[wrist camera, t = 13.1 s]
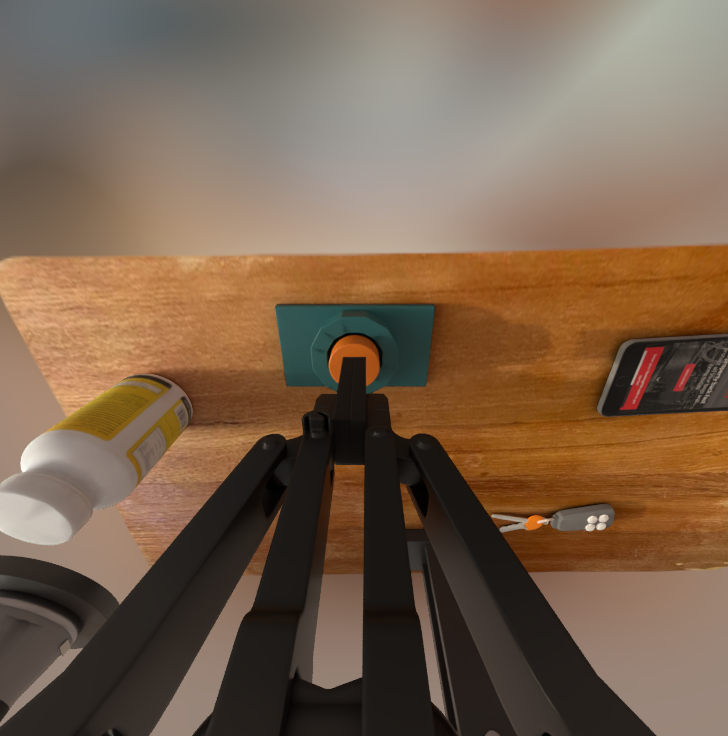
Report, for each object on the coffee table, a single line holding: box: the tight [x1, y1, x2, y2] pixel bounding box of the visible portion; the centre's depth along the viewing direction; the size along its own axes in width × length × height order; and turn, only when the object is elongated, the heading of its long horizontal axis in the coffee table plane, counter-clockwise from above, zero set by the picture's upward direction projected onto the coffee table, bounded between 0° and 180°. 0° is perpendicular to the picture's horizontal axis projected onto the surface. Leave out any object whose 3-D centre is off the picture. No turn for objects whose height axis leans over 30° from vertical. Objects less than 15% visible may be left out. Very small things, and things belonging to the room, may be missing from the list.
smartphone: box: [597, 334, 728, 417], centre depth 24 cm, size 7×1×15 cm
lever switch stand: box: [406, 529, 517, 736], centre depth 28 cm, size 10×6×18 cm, turn 90°
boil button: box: [329, 335, 380, 386], centre depth 21 cm, size 4×4×2 cm
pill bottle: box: [0, 374, 193, 545], centre depth 21 cm, size 6×6×12 cm
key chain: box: [492, 504, 615, 532], centre depth 33 cm, size 13×4×2 cm, turn 100°
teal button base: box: [275, 304, 435, 394], centre depth 22 cm, size 12×7×2 cm, turn 90°
